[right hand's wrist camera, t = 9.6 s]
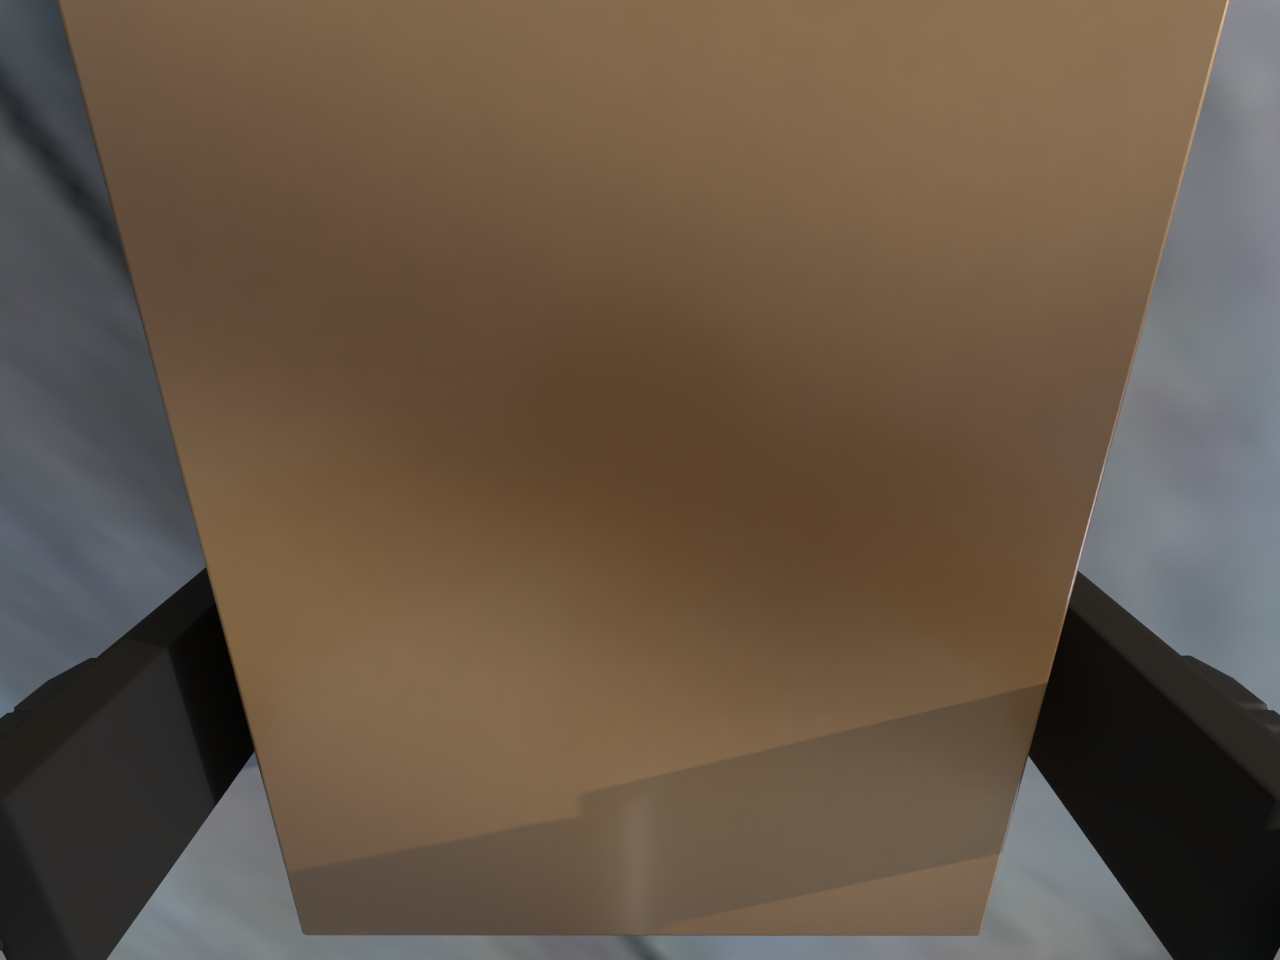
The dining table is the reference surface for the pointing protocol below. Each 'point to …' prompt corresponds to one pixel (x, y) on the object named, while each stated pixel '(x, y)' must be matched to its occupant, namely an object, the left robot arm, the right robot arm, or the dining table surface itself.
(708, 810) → the cabinet
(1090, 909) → the dining table surface
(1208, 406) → the dining table surface
